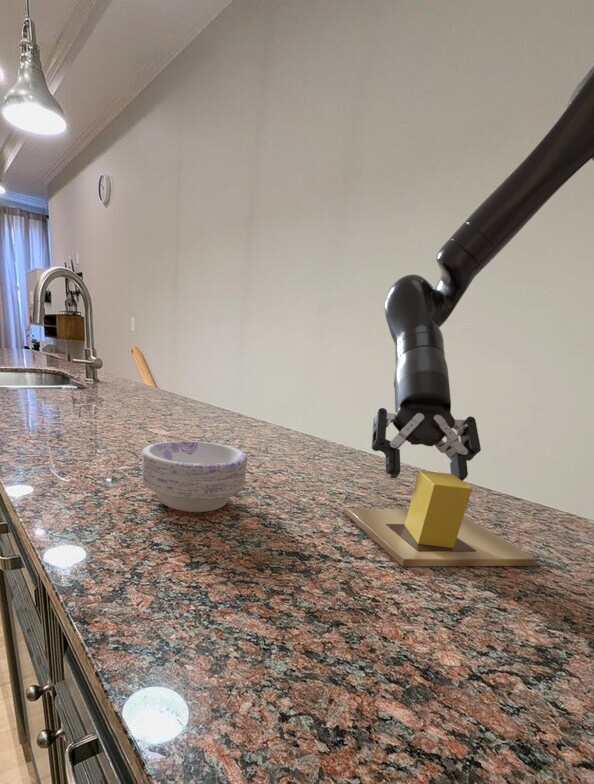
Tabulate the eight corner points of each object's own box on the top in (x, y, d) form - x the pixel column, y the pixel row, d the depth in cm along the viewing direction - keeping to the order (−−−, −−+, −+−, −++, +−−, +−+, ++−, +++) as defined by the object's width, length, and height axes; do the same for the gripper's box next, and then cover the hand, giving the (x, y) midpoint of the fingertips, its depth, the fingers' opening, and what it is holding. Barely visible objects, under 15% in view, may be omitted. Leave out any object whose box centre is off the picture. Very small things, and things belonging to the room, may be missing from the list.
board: (452, 515, 70) (454, 509, 70) (534, 566, 56) (537, 558, 55) (345, 514, 67) (347, 507, 67) (402, 566, 53) (404, 558, 52)
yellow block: (437, 529, 62) (453, 473, 59) (453, 548, 56) (472, 488, 53) (404, 525, 62) (418, 470, 59) (417, 544, 56) (434, 484, 53)
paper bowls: (183, 479, 77) (186, 433, 74) (260, 502, 69) (266, 452, 66) (119, 501, 66) (119, 448, 63) (202, 532, 58) (207, 473, 55)
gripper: (381, 364, 65) (383, 460, 59) (482, 373, 64) (495, 472, 58) (366, 396, 72) (366, 485, 66) (457, 404, 71) (466, 496, 65)
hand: (426, 479), depth 62 cm, fingers open, 8 cm apart
